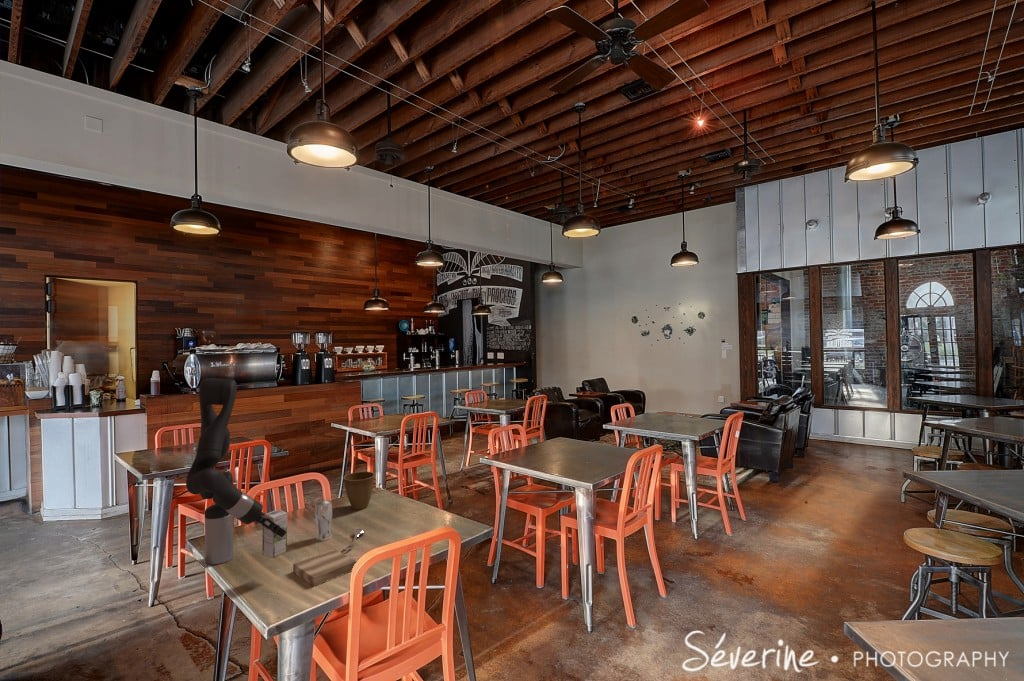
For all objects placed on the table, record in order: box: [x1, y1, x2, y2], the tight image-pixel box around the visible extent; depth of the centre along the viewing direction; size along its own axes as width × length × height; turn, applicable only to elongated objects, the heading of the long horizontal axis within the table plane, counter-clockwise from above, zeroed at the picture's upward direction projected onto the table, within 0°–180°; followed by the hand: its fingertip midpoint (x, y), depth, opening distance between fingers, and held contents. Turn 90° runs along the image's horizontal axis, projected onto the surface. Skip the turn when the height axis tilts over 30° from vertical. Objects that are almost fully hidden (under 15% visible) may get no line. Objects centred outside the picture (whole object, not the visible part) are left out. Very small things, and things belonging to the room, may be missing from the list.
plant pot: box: [343, 471, 375, 511], centre depth 242 cm, size 15×15×16 cm
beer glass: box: [314, 499, 333, 542], centre depth 205 cm, size 7×7×15 cm
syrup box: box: [261, 509, 288, 559], centre depth 170 cm, size 6×6×14 cm
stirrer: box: [342, 528, 366, 550], centre depth 200 cm, size 20×4×5 cm
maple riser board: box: [292, 548, 358, 587], centre depth 176 cm, size 16×16×3 cm
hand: (279, 531), depth 171 cm, fingers closed on syrup box, 6 cm apart
